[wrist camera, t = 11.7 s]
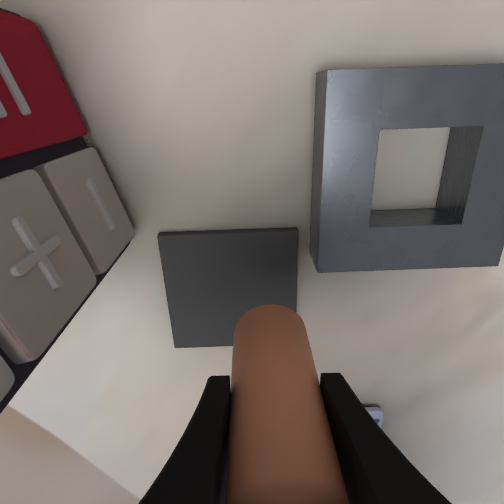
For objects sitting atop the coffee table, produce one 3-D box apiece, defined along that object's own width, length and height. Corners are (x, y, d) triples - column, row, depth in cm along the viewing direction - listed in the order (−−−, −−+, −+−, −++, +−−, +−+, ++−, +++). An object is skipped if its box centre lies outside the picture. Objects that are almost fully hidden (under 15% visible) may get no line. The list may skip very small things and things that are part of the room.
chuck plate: (469, 245, 20) (498, 266, 18) (309, 251, 20) (317, 272, 18) (512, 65, 16) (556, 61, 14) (316, 73, 16) (327, 70, 14)
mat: (294, 338, 22) (295, 343, 22) (176, 342, 22) (174, 347, 22) (296, 227, 19) (297, 230, 19) (159, 232, 19) (157, 236, 19)
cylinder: (304, 361, 15) (346, 554, 9) (235, 364, 15) (227, 558, 9) (307, 302, 14) (357, 477, 8) (231, 305, 14) (219, 482, 8)
